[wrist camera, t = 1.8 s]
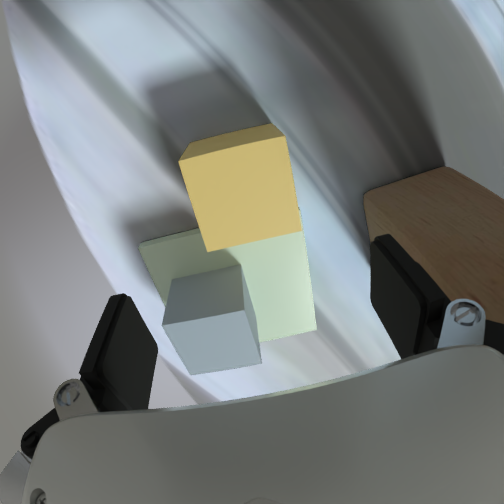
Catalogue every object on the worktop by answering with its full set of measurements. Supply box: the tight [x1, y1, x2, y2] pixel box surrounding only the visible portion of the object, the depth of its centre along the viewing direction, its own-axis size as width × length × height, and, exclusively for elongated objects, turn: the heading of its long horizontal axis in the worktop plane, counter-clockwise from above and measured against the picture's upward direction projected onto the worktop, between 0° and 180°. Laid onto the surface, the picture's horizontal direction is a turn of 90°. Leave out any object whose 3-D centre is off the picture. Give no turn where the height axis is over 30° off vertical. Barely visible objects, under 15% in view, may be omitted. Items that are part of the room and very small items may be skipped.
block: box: [363, 167, 504, 324], centre depth 19 cm, size 10×10×20 cm
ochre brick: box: [178, 123, 302, 252], centre depth 22 cm, size 6×6×6 cm
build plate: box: [138, 207, 317, 342], centre depth 29 cm, size 14×14×1 cm
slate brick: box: [162, 264, 262, 375], centre depth 26 cm, size 6×6×6 cm
